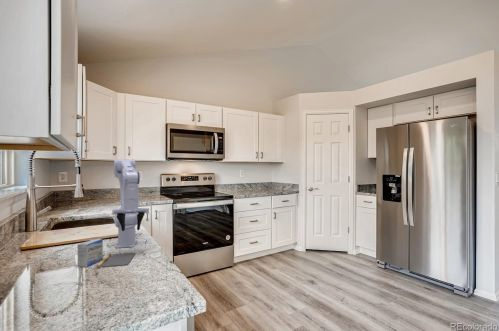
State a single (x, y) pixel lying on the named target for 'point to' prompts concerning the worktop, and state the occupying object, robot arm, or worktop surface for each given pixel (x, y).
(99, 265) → the oak strip
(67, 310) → the worktop surface
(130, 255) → the rubber mat
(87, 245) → the medicine box
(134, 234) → the robot arm
